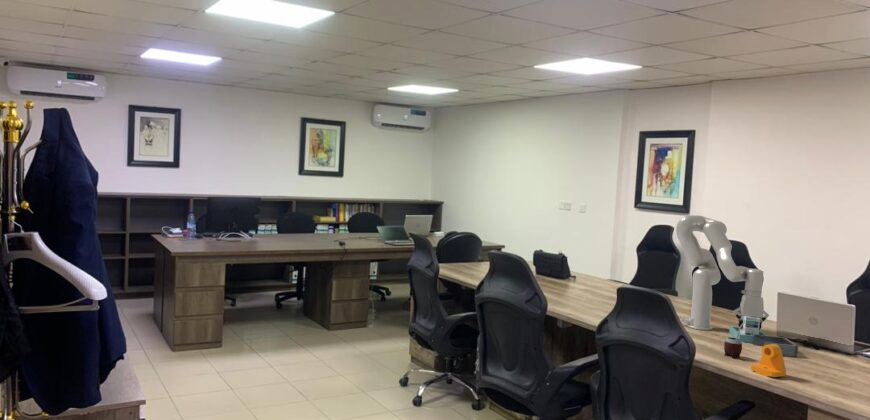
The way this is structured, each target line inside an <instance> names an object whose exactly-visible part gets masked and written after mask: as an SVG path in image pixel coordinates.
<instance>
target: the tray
mask: <svg viewBox="0 0 870 420" xmlns="http://www.w3.org/2000/svg"><path fill="white" fill-rule="evenodd" d="M738 331H739V326H732V325H730V326H728V334H729V335H731V337H733V338H737V335H738ZM759 335H767V336H769V335H768V334H766V333H765V332H764V331H762V330H761V329H760V330H759ZM738 339H740V340H741V342H742V343H748V344H753V339H754V336H752V335H743V334H740V333H739V336H738Z"/></svg>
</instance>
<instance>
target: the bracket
mask: <svg viewBox="0 0 870 420" xmlns="http://www.w3.org/2000/svg"><path fill="white" fill-rule="evenodd" d="M761 354H762V356H761V358H760V359H759V362H758V363H751V364H750V370H752V371H754V373H755V374H758V375H760V376H763V377H765V378H778V377H786V376H787V369H786V365H785V360H784V356H783V355H782V351H781V348H780V347H779V346H778V345H776V344H771V345H764V346H761Z"/></svg>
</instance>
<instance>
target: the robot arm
mask: <svg viewBox="0 0 870 420" xmlns="http://www.w3.org/2000/svg"><path fill="white" fill-rule="evenodd" d="M727 229H728V228H727V226H726V224H725V223H723V222H722V221H720V220H716V219H712V218H709V217H706V216H702V215H694V214H693V215H691V214H690V215H684V216H683V217H681V218H680V219H679V220H678V222H677V224H676V226H675V232H676V236H677V239H678V241H679V243H680V245H681V248H682V251H683V253H684V256H685V258H686V261H687V262H688V264H689V265H690V266H692V267H695V268H696V267H698V269H696V270H695V271H694V272H693V275H692V277H691V278H692V279H691V280H692V281H691V282H692V296H691V309H690V316H689V317H687V318H685V317H680V322H681V321H682V322H683V323H686V326H687V327H688V328H689V329H695V330H699V331H712V330H713V329H714V328H713V326H712V325H710V323H711V316H712V315H711V314H712V303H713V289H712V288H713V287H712V286H714V285H717V284H718V283H719V282H720V280H721V278H722V277H721V271H722V274H723V275H724V276H725V278H726V279H727V280H729V281H730V282H732V283H737V282H745V285H744V290H740V291H741V292H740V293H741V294H743V295H742V297H741V301H740V305H739V307H737V308H735V309H734V310H733V311H732V313H733V315H734V316H735V317H736V318H737V319H738V326H737V327H740V326H741V325H742V323H743V321H742V319H743V318H744V316H749V317H758V318H760V326H759V330H761V329H762V324H763V323H764V322H765V321H766V319H768V317H770V314H769V313H768V312H766V311H765V310H764V308H765V307H764V306H765V304H764V303H765V302H764V298H763V296H762V292H763V282H764V271H763V270H761V269H760V268H750V267H746V266H743V265H739V266H738V265H737V264H736V263H735V261H734V259H733V257H732V253H731V252H732V250H733V249H732V248H733V245H732V243H731V242H730V240H729V238H728V237H727V235H726V234H727V232H728V230H727ZM694 232H699V233H704V235H705V237H706V239H707V240H708V242H709V243H710V245H711V246H712V249H713V251H714V252H715V254H716V260H717V261H716V260H715V257H714V256H713V254H712V253H711V251H710V250H709V249H707V248H705V247H704V248H702V247H701V245H700V244H699V240H698V239H697V237H696V236H695V234H694ZM717 263H718V265H717ZM719 268H720V269H719ZM720 270H721V271H720ZM738 313H739V314H741V315H739V314H738ZM682 322H681V323H682ZM742 328H743V325H742V327H741V329H742Z"/></svg>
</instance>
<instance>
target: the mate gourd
mask: <svg viewBox="0 0 870 420" xmlns="http://www.w3.org/2000/svg"><path fill="white" fill-rule="evenodd" d="M743 324H744V322H743V323H742V325H743ZM742 325H741V326H740V327H739V326H738V327H739V331H738V335H737V338H734V337H733V336H730V337H726V338H725V340H724V344H723V345H724V346H723V349H724V354H723V356H724V357H731V359H734V358H737V359H741V354H742V351H743V342H741V340H740V339H738V336H739V333H740V330H741V327H742Z"/></svg>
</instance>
